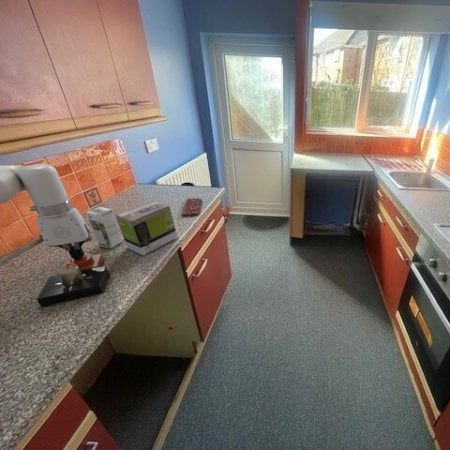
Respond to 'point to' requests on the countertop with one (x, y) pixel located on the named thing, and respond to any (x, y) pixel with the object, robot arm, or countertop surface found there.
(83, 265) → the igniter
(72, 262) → the button
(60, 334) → the countertop surface
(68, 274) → the hob knob
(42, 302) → the panel
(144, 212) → the tea box
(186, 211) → the chocolate bar
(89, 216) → the syrup box
